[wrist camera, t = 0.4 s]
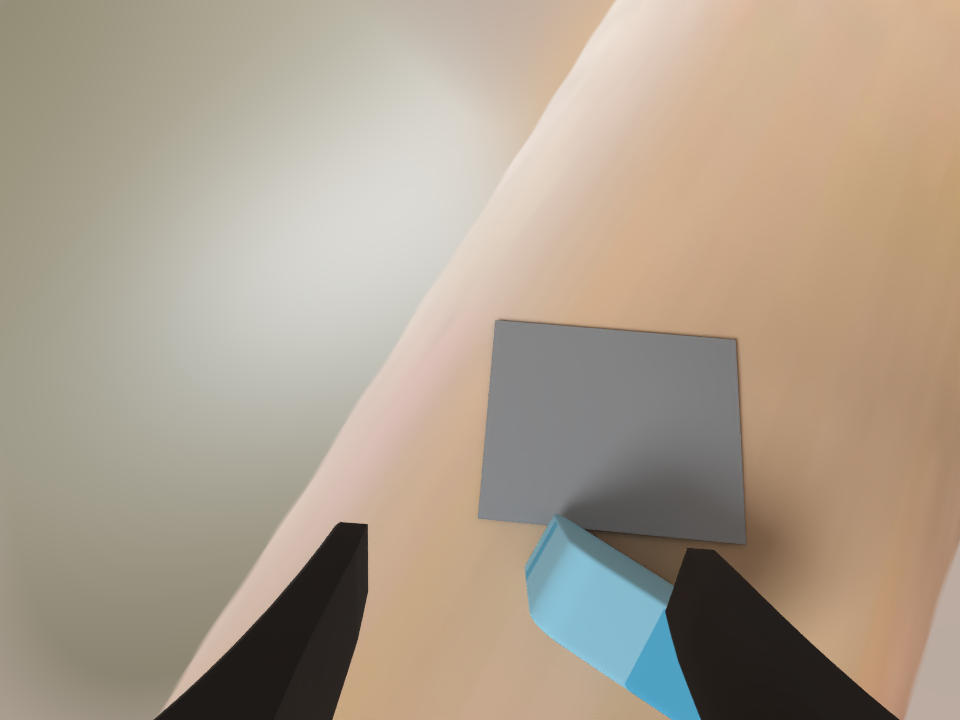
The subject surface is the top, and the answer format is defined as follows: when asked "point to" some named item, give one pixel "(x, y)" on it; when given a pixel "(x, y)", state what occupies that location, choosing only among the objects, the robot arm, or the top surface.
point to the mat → (614, 432)
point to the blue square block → (607, 614)
